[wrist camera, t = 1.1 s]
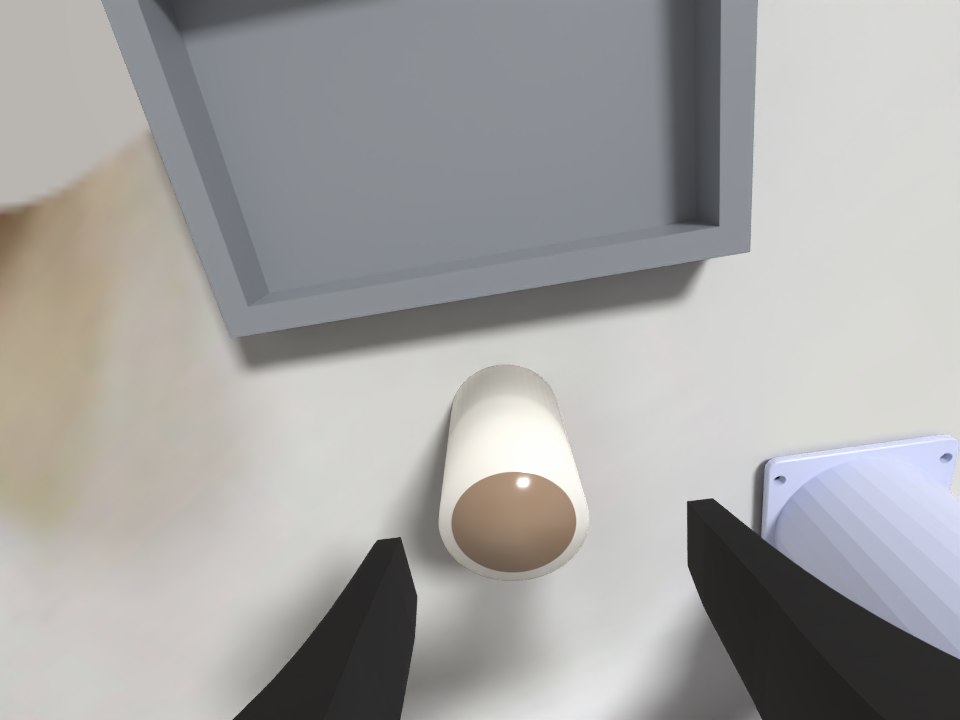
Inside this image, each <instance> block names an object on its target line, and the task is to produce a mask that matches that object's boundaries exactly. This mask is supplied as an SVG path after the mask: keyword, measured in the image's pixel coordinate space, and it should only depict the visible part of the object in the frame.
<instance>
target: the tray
mask: <svg viewBox="0 0 960 720" xmlns="http://www.w3.org/2000/svg"><path fill="white" fill-rule="evenodd" d="M101 1H102V3H103V6H104V9H105V11H106V14H107V17H108V19H109V22H110V24H111V27H112V29H113V32H114V35H115V37H116V40H117V43H118V45H119V48H120V50H121V53H122V56H123V58H124V61H125V64H126V66H127V69H128V71H129V74H130V77H131V79H132V82H133V84H134V87H135V90H136V92H137V95H138V97H139V100H140V102H141V105H142V108H143V110H144V113H145V116H146V118H147V121H148V124H149V126H150V129H151V131H152V134H153V137H154V139H155V142H156V144H157V147H158V150H159V152H160V155H161V157H162V160H163V163H164V165H165V168H166V171H167V173H168V176H169V178H170V181H171V184H172V186H173V189H174V191H175V194H176V197H177V199H178V202H179V204H180V207H181V210H182V212H183V215H184V217H185V220H186V223H187V225H188V228H189V231H190V233H191V236H192V238H193V241H194V244H195V246H196V249H197V251H198V254H199V257H200V259H201V262H202V264H203V267H204V270H205V272H206V275H207V277H208V280H209V283H210V285H211V288H212V291H213V293H214V296H215V298H216V301H217V304H218V306H219V309H220V311H221V314H222V317H223V319H224V322H225V324H226V327H227V330H228V332H229V335H230V337H231V338H236V337H242V336H248V335H254V334H260V333H266V332H272V331H278V330H284V329H290V328H296V327H302V326H308V325H314V324H320V323H326V322H332V321H338V320H344V319H350V318H356V317H362V316H368V315H374V314H380V313H386V312H392V311H398V310H404V309H410V308H416V307H422V306H428V305H434V304H440V303H446V302H452V301H458V300H464V299H470V298H476V297H482V296H489V295H495V294H501V293H507V292H513V291H519V290H525V289H531V288H537V287H543V286H549V285H555V284H561V283H567V282H573V281H579V280H585V279H591V278H597V277H603V276H609V275H615V274H621V273H627V272H633V271H639V270H645V269H651V268H657V267H663V266H669V265H675V264H681V263H687V262H693V261H699V260H705V259H711V258H717V257H723V256H729V255H735V254H741V253H747V252H750V240H751V207H752V174H753V140H754V107H755V74H756V40H757V7H758V0H101Z"/></svg>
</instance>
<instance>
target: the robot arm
mask: <svg viewBox="0 0 960 720" xmlns="http://www.w3.org/2000/svg"><path fill="white" fill-rule="evenodd" d="M958 450H959V441H958V440H957V439H955V438H954V437H952V436H950V435H948V434H941V435H934V436H927V437H920V438H913V439H905V440H898V441H891V442H884V443H876V444H869V445H862V446H855V447H847V448H840V449H833V450H826V451H818V452H811V453H804V454H797V455H789V456H782V457H776V458H773V459H771V460H769V461H768V462H767V464H766V465H765V471H764V491H763V512H762V532H761V537H760V536H759V535H758V534H756V533H755V532H754V531H753V530H751V529H750V528H749V527H748V526H746V525H745V524H744V523H743V522H741V521H740V520H739V519H738V518H736V517H735V516H734V515H733V514H732V513H730V512H729V511H728V510H727V509H725V508H724V507H723V506H722V505H720V504H719V503H718V502H717V501H715V500H714V499H713V498H711V499H703V500H695V501H687V550H688V568H689V570H690V573H691V576H692V578H693V581H694V583H695V586H696V589H697V591H698V594H699V596H700V599H701V601H702V604H703V606H704V608H705V610H706V612H707V614H708V616H709V618H710V620H711V622H712V624H713V626H714V627H715V629H716V631H717V633H718V635H719V637H720V639H721V641H722V643H723V645H724V646H725V648H726V650H727V652H728V654H729V656H730V658H731V660H732V662H733V664H734V665H735V667H736V669H737V671H738V673H739V675H740V677H741V679H742V681H743V682H744V684H745V686H746V688H747V690H748V692H749V694H750V696H751V698H752V700H753V702H754V704H755V706H756V708H757V710H758V712H759V714H760V716H761V718H762V720H960V498H959V497H957V496H956V495H955V494H953V493H952V492H951V491H950V487H951V482H952V477H953V473H954V468H955V464H956V459H957V455H958ZM943 454H944V455H943ZM942 455H943V456H942ZM941 456H942V457H941ZM778 476H780V478H779V479H777V480H774V479H775V478H776V477H778ZM416 611H417V594H416V590H415V587H414V583H413V579H412V576H411V572H410V569H409V565H408V561H407V558H406V554H405V551H404V547H403V544H402V540H401V537H398V538H390V539H382V540H377V541H376V543H375V544H374V545H373V547H372V548H371V550H370V551H369V553H368V554H367V556H366V557H365V559H364V561H363V562H362V564H361V565H360V567H359V568H358V570H357V571H356V573H355V574H354V576H353V577H352V579H351V580H350V582H349V583H348V585H347V586H346V588H345V589H344V590H343V592H342V593H341V595H340V596H339V598H338V599H337V600H336V602H335V603H334V605H333V606H332V608H331V609H330V610H329V612H328V613H327V614H326V616H325V617H324V618H323V620H322V621H321V622H320V623H319V625H318V626H317V627H316V629H315V630H314V631H313V633H312V634H311V635H310V636H309V638H308V639H307V640H306V642H305V643H304V644H303V645H302V647H301V648H300V649H299V650H298V651H297V653H296V654H295V655H294V656H293V657H292V658H291V660H290V661H289V662H288V663H287V664H286V665H285V666H284V668H283V669H282V670H281V671H280V672H279V673H278V674H277V675H276V677H275V678H274V679H273V680H272V681H271V682H270V683H269V684H268V685H267V686H266V687H265V688H264V689H263V690H262V691H261V692H260V693H259V694H258V695H257V696H256V697H255V698H254V699H253V700H252V701H251V702H250V703H249V704H248V705H247V706H246V707H245V708H244V709H243V710H242V711H241V712H240V713H239V714H238V715H237V716H236V717H235V718H234V719H233V720H400V718H401V712H402V707H403V701H404V696H405V690H406V685H407V679H408V674H409V668H410V662H411V657H412V651H413V645H414V639H415V627H416Z"/></svg>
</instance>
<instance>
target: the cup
mask: <svg viewBox="0 0 960 720" xmlns="http://www.w3.org/2000/svg"><path fill="white" fill-rule="evenodd" d="M588 528H589V511H588V506H587V502H586V499H585V496H584V492H583V489H582V485H581V482H580V478H579V475H578V472H577V468H576V465H575V461H574V458H573V454H572V451H571V448H570V444H569V441H568V437H567V434H566V431H565V427H564V424H563V420H562V417H561V413H560V410H559V407H558V403H557V400H556V397H555V394H554V392H553V390H552V389H551V387H550V386H549V384H548V383H547V382H546V381H545V380H544V379H543V378H542V377H540V376H539V375H538V374H536V373H535V372H533V371H531V370H529V369H526V368H523V367H520V366H514V365H496V366H492V367H488V368H485V369H482V370H480V371H478V372H476V373H475V374H473V375H472V376H470V377H469V378H468V379H467V380H466V381H465V382H464V383H463V384H462V385H461V386H460V388H459V390H458V391H457V393H456V395H455V397H454V401H453V404H452V411H451V420H450V428H449V436H448V444H447V453H446V461H445V469H444V478H443V486H442V494H441V502H440V511H439V531H440V535H441V538H442V541H443V543H444V545H445V547H446V549H447V550H448V551H449V553H450V554H451V555H452V556H453V557H454V558H455V559H456V560H457V561H458V562H459V563H460V564H461V565H463V566H464V567H466V568H467V569H469V570H471V571H473V572H475V573H477V574H479V575H482V576H485V577H488V578H492V579H497V580H505V581H519V580H527V579H533V578H537V577H540V576H543V575H546V574H548V573H551V572H553V571H555V570H556V569H558V568H560V567H561V566H563V565H564V564H566V563H567V562H568V561H569V560H570V559H571V558H572V557H573V556H574V555H575V554H576V553H577V552H578V550H579V549H580V547H581V546H582V544H583V542H584V540H585V538H586V535H587V532H588Z"/></svg>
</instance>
